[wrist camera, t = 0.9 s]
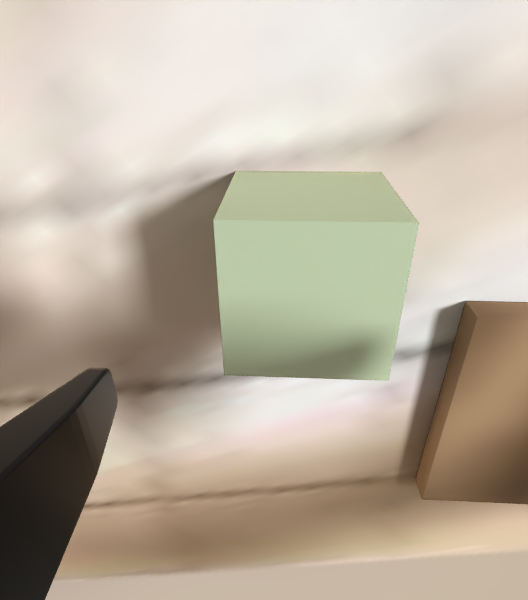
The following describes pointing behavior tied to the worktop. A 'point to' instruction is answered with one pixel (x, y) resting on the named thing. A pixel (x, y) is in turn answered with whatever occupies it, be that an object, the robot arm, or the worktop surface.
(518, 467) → the walnut board
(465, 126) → the worktop surface
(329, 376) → the sage cube
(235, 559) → the worktop surface
